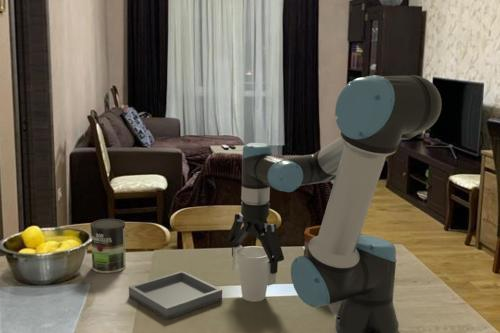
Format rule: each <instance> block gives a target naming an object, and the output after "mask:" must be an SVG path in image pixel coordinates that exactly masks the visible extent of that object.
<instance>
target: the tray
mask: <svg viewBox="0 0 500 333" xmlns="http://www.w3.org/2000/svg"><path fill="white" fill-rule="evenodd" d="M128 297H129V298H130V299H131V300H133V301H134V302H136V303H138V304H140V305H141V306H143V307H144V308H147V309H149V311H152V312H153V313H155V314H156V315H158V316H160V317H162V318H163V319H165V320H171V319H173V318H176V317H179V316H181V315H185V314H187V313H189V312H193V311H195V310H198V309H201V308H203V307H206V306H209V305H212V304H214V303H215V304H216V303H218V302H221V301H223V289H221V288H220V287H217V286H215V285H213V284H211V283H209V282H207V281H205V280H203V279H201V278H199V277H196V275H195V276H194V275H193V274H191V273H189V272H186V271H184V270H180V271H176V272H174V273H170V274H167V275H164V276H160V277H157V278H153V279H150V280H147V281H146V280H145V281H144V282H139V283H137V284H133V285H130V286H128Z"/></svg>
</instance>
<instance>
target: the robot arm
mask: <svg viewBox="0 0 500 333" xmlns="http://www.w3.org/2000/svg"><path fill="white" fill-rule="evenodd" d="M442 103H443V102H442V97H441V94H440V92H439V90H438V88H437V87H436V86H435V85H434V83H433V82H431V81H430V80H429V79H427V78H425V77H422V76H419V75H413V74H411V75H379V74H378V75H377V74H376V75H367V76H364V77H357V78H356V79H355V78H354V79H353V80H352V81H349V82H348V83H347V84H346V85H345V86H344V87H343V88H342V89H341V91H340V93H339V95H338V97H337V99H336V104H335V108H334V109H335V110H334V111H335V112H334V114H335V115H334V116H336V117H337V119H336V120H335V122H336V125H337V127H338V129H339V130H340V131H339V132H340V137H338V138H337V139H334V140H333V141H332V142H330V143H329V144H327V145H325V146H324V147H322V148H321V149H320V150H318V151H317V152H315V153H313V154H304V155H297V156H288V157H287V156H286V157H278V156H274V155H272V146H270V144H268V143H264V142H263V143H262V142H249V143H246V144H245V145H243V147H242V156H241V157H242V158H241V196H240V199H241V203H240V204H241V206H240V208H241V209H240V212H238V213H235V214H234V220H233V223H232V225H231V228H230V230H229V233H228V235H227V238H226V242H227V243H229V244H230V246H231V257H232V270H233V271H236V270H239V267H238V261H237V251H238V250H239V249H241V248H243V246H242V242H243V241H244V240H245V238H246V237H247V236H248V235H252V236H253V237H255V238H257V240H258V241H259V242H260V244H261V247H263V248H264V250H265V252H266V255H267V257H268V259H269V261H267V279H266V285H267V287H268V286H271V285H274V284H276V283H277V280H276V279H277V278H276V277H277V273H278V268H279V267H278V263H279V262H282V261H285V256H284V252H283V250H282V246H281V244H280V239H279V235H278V231H277V224H276V223H268V217H269V216H270V202H269V201H270V194H271V192H270V190H271V188H273V189H275V190H276V191H279V192H286V193H291V192H294V191H295V190H297V189H298V188H299V187H300V186H306V185H312V184H320V183H321V184H322V183H329V182H333V185H332V186H331V187H332V188H331V191H330V194H329V197H328V198H329V199H328V201H327V204H326V208H325V211H324V215H323V218H322V222H321V228H320V231H319V235H318V236H316V237H314V238H312V239H311V240H310V242H309V245H308V248H307V251H306V254H305V255H304V254H303V255H298V256H297V257H295V258H294V259H293V260H292V262H291V265H290V279H291V283H292V285H293V288H294V291H295V292H296V294H297V295H298V298H299V299H301V301H302V302H303V303H304V304H306V305H307V306H309V307H313V308H317V307H323V306H324V307H326V306H329V305H331V304H334V303H338V302H341V301H342V302H341V304H340V306H339V308H338V312H337V314H336V316H335V330H336V331H337V333H399V327H400V326H399V321H398V317H397V313H396V310H395V305H394V291H395V278H396V276H395V275H396V266H397V265H396V264H397V258H396V257H397V249H396V247H395V245H394V244H393V243H392V242H391V241H389V240H386V239H384V238H381V237H376V236H372V235H367V234H366V235H364V234H362V231H363V227H364V224H365V222H366V218H367V216H368V212H369V210H370V207H371V204H372V201H373V198H374V196H375V192H376V188H377V186H378V183H379V180H380V177H381V173H382V171H383V168H384V165H385V162H386V159H387V157H389V156H391V155H394V154H395V153H396V152H397V150H398V147H399V145H400V142H401V140H410V139H412V138H414V137H416V136H417V135H420V134H422V133H423V132H425V131H427V130H429V129H430V128H431V127H432V126H434V124H435V123H436V122H437V121H438V119H439V117H440V115H441V111H442V105H443V104H442ZM360 234H362V235H360Z"/></svg>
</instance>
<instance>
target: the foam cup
mask: <svg viewBox="0 0 500 333" xmlns="http://www.w3.org/2000/svg"><path fill="white" fill-rule="evenodd" d="M237 261H238V267H239V269H238V274H239V281H240V282H239V283H240V290H241V295H242V299H243V300H244V301H247V302H253V303H254V302H256V303H257V302H261V301H264V300H265V299H266V295H267V290H268V289H267V288H268V285H266V279H267V261H269V259H268V257H267V255H266V252H265V250H264V248H263V246H259V245H257V246H256V245H251V246H250V245H249V246H248V245H247V246H242V248H241V249H239V250H238V251H237Z"/></svg>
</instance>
